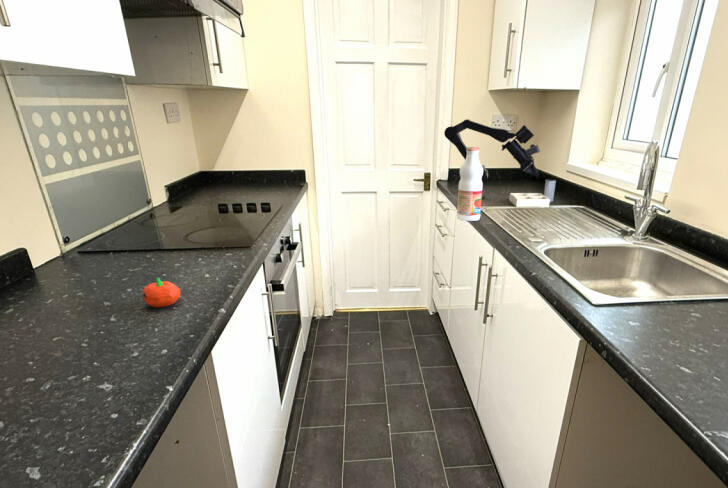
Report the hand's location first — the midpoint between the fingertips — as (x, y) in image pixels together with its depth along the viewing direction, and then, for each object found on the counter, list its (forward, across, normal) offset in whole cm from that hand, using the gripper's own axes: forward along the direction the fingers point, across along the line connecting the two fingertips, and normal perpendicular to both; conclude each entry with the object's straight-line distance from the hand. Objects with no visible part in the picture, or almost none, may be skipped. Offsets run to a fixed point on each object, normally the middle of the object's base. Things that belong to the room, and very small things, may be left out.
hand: (538, 175), depth 197 cm
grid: (+6, -8, +11) cm, 15 cm away
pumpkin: (-50, -146, +67) cm, 168 cm away
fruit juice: (-10, -46, +28) cm, 55 cm away
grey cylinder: (+13, 0, +4) cm, 14 cm away
